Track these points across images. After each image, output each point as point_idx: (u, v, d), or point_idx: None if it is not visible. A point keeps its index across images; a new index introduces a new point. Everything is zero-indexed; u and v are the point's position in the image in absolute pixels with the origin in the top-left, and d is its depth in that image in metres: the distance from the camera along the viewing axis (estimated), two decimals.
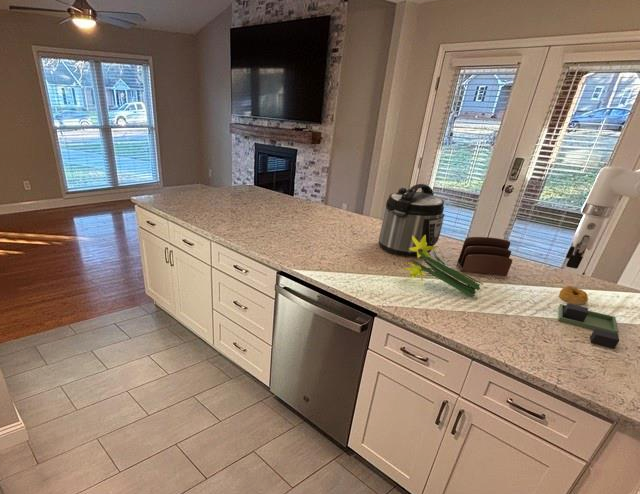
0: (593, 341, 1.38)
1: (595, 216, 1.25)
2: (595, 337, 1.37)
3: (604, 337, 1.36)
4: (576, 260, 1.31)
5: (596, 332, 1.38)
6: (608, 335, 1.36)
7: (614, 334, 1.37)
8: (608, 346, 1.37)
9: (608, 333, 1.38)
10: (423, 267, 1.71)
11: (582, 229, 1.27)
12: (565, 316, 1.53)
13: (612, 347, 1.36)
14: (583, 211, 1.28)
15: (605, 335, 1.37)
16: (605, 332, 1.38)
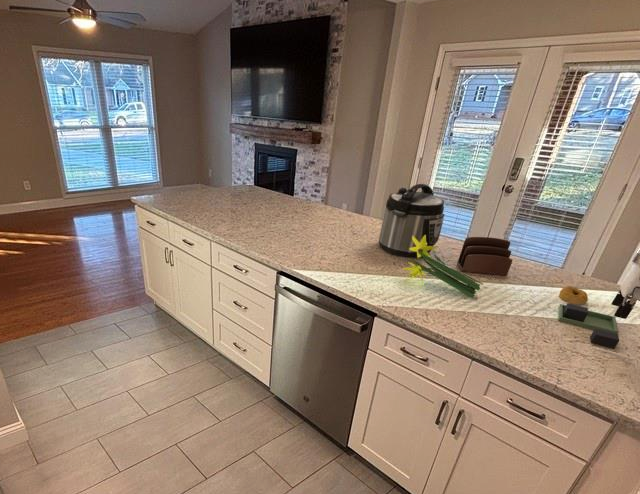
0: (593, 341, 1.38)
1: None
2: (595, 337, 1.37)
3: (604, 337, 1.36)
4: (625, 311, 1.27)
5: (596, 332, 1.38)
6: (608, 335, 1.36)
7: (614, 334, 1.37)
8: (608, 346, 1.37)
9: (608, 333, 1.38)
10: (423, 267, 1.71)
11: (634, 280, 1.24)
12: (565, 316, 1.53)
13: (612, 347, 1.36)
14: (635, 261, 1.24)
15: (605, 335, 1.37)
16: (605, 332, 1.38)
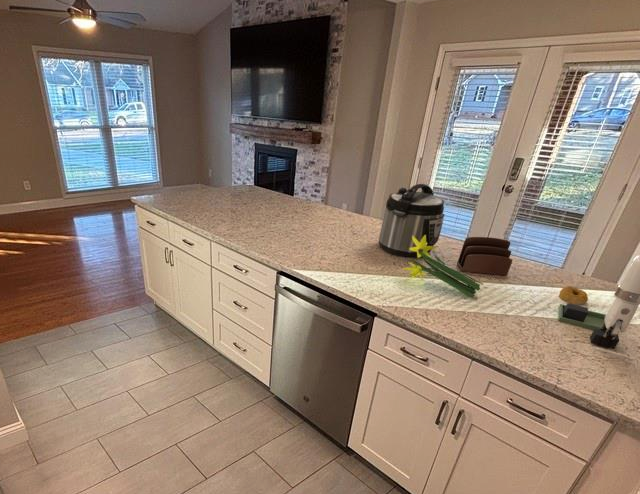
0: (593, 341, 1.38)
1: (629, 302, 1.27)
2: (595, 337, 1.37)
3: None
4: (607, 342, 1.35)
5: (596, 332, 1.38)
6: None
7: None
8: None
9: None
10: (423, 267, 1.71)
11: (616, 313, 1.30)
12: (565, 316, 1.53)
13: (612, 347, 1.36)
14: (617, 295, 1.30)
15: None
16: None
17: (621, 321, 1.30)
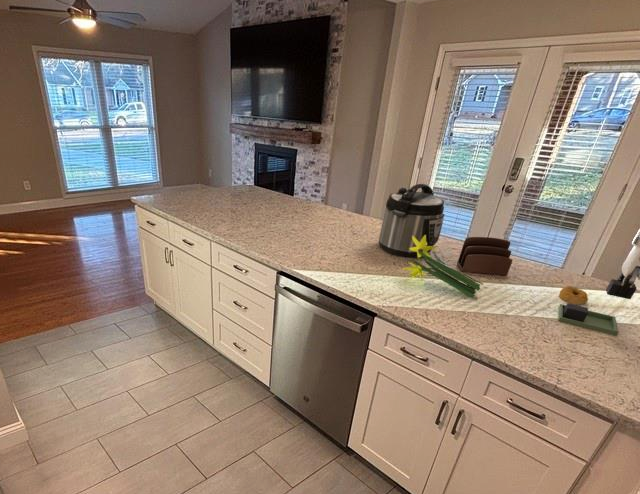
0: (610, 291, 1.41)
1: None
2: (612, 286, 1.40)
3: None
4: (624, 290, 1.38)
5: (613, 282, 1.41)
6: None
7: None
8: None
9: None
10: (423, 267, 1.71)
11: (634, 260, 1.32)
12: (565, 316, 1.53)
13: (629, 296, 1.39)
14: (635, 243, 1.32)
15: None
16: None
17: (639, 268, 1.32)
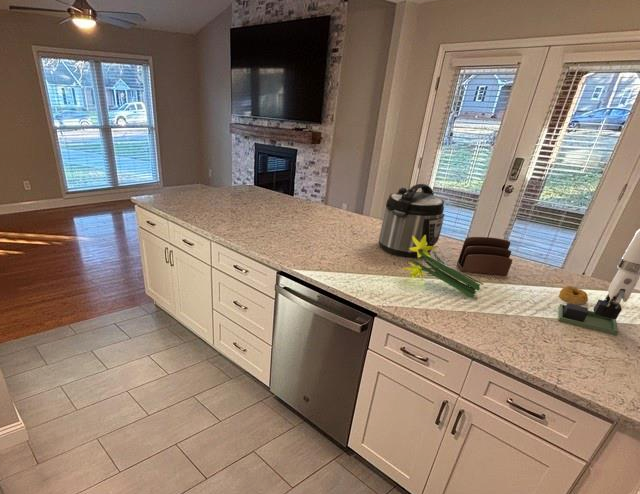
0: (597, 311, 1.47)
1: (631, 272, 1.36)
2: (599, 307, 1.46)
3: None
4: (610, 311, 1.44)
5: (600, 302, 1.47)
6: None
7: None
8: None
9: None
10: (423, 267, 1.71)
11: (619, 283, 1.39)
12: (565, 316, 1.53)
13: (615, 316, 1.45)
14: (620, 266, 1.39)
15: None
16: None
17: (624, 291, 1.39)
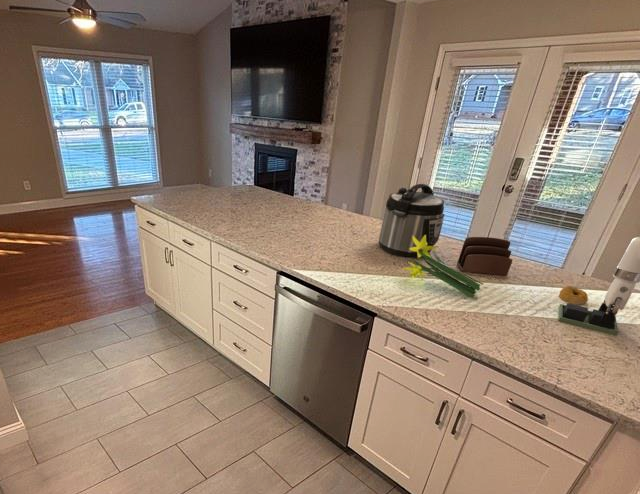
0: (592, 321, 1.49)
1: (627, 281, 1.38)
2: (594, 317, 1.48)
3: (601, 317, 1.47)
4: (609, 318, 1.43)
5: (594, 312, 1.49)
6: None
7: None
8: (606, 325, 1.48)
9: None
10: (423, 267, 1.72)
11: (615, 291, 1.40)
12: (565, 316, 1.53)
13: (609, 326, 1.47)
14: (616, 275, 1.40)
15: (603, 314, 1.48)
16: (603, 312, 1.49)
17: None
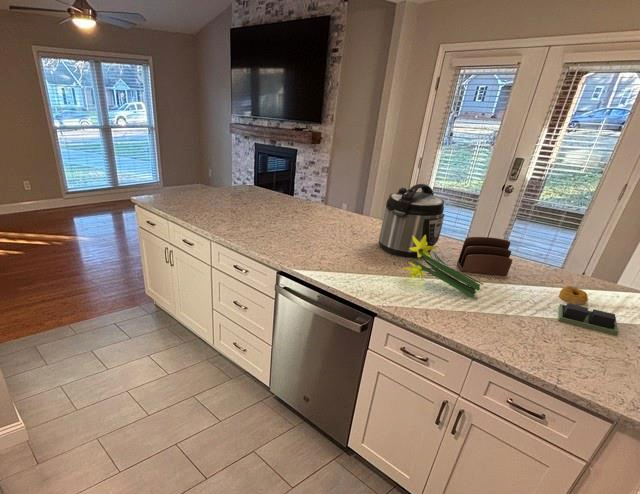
0: (592, 321, 1.49)
1: None
2: (594, 317, 1.48)
3: (601, 317, 1.47)
4: None
5: (594, 312, 1.49)
6: (605, 315, 1.47)
7: (611, 314, 1.49)
8: (606, 325, 1.48)
9: (606, 313, 1.49)
10: (423, 267, 1.72)
11: None
12: (565, 316, 1.53)
13: (609, 326, 1.47)
14: None
15: (603, 314, 1.48)
16: (603, 312, 1.49)
17: None
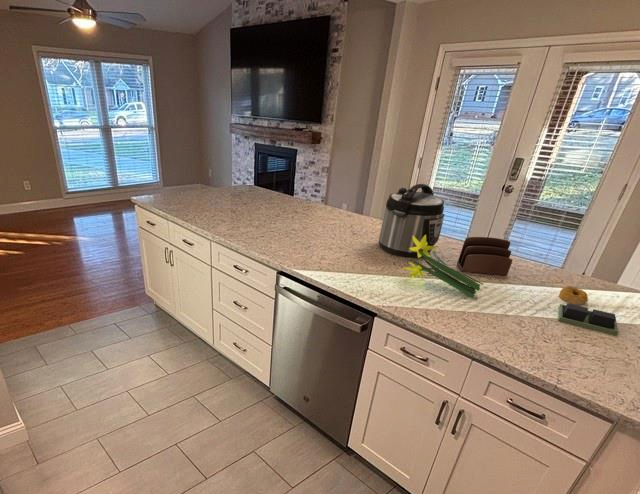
0: (592, 321, 1.49)
1: None
2: (594, 317, 1.48)
3: (601, 317, 1.47)
4: None
5: (594, 312, 1.49)
6: (605, 315, 1.47)
7: (611, 314, 1.49)
8: (606, 325, 1.48)
9: (606, 313, 1.49)
10: (423, 267, 1.72)
11: None
12: (565, 316, 1.53)
13: (609, 326, 1.47)
14: None
15: (603, 314, 1.48)
16: (603, 312, 1.49)
17: None
